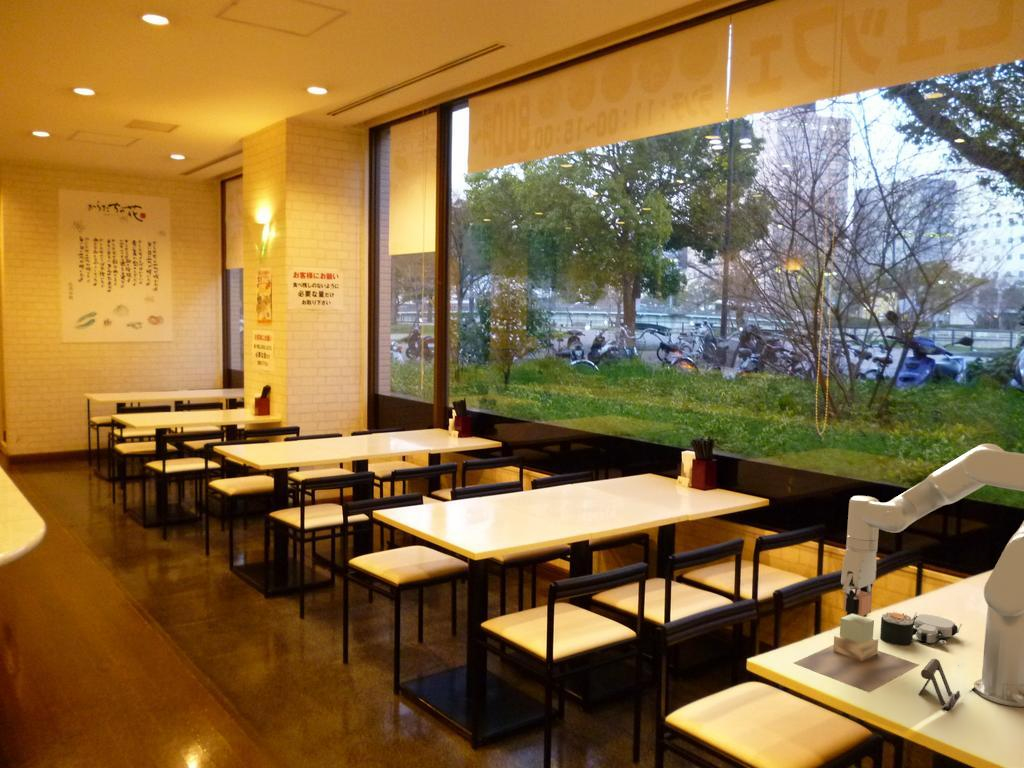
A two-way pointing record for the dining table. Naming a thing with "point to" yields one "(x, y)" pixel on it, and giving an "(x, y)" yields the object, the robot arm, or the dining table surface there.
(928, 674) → the portable electronic device stand
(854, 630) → the green block
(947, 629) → the robot toy
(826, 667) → the walnut board
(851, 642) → the birch base block
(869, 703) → the dining table surface
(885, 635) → the sushi
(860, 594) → the terracotta block
